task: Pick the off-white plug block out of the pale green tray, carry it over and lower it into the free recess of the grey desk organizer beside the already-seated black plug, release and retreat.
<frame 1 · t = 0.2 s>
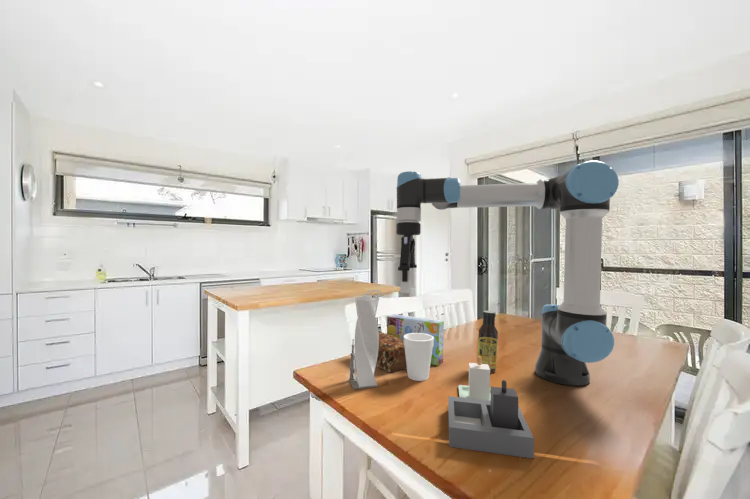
hand: (407, 290, 99), 28 cm above the table, fingers open, 13 cm apart
snack box: (414, 358, 117), on the table
foam cup: (418, 378, 99), on the table
grey desk organizer: (485, 432, 70), on the table
bread: (384, 363, 112), on the table
skyscraper: (365, 384, 94), on the table
sauce bottle: (486, 371, 106), on the table
plug: (478, 399, 84), resting on tray
tray: (478, 401, 84), on the table
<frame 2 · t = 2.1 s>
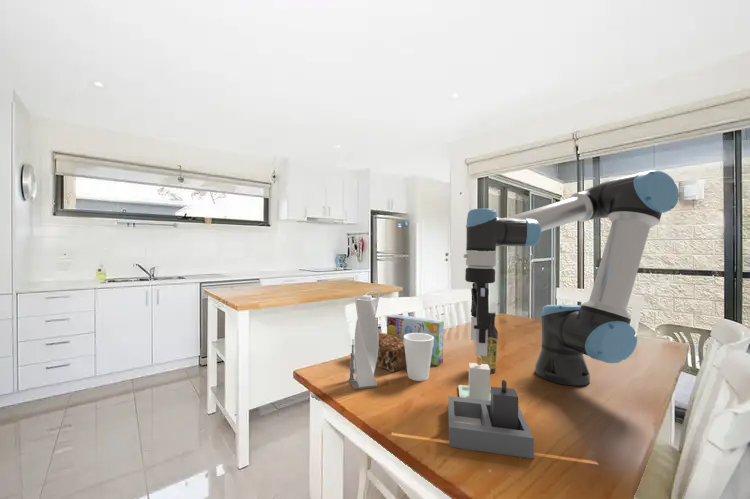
hand: (478, 347, 84), 15 cm above the table, fingers open, 13 cm apart
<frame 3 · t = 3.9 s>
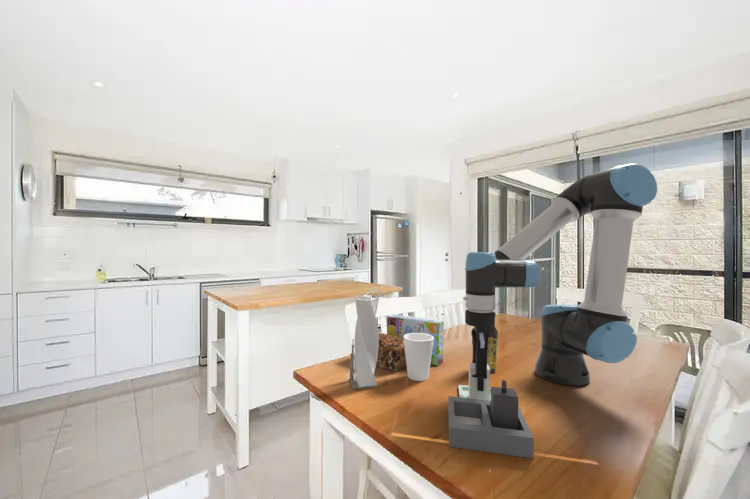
hand: (478, 397, 84), 1 cm above the table, fingers closed on plug, 4 cm apart
plug: (478, 399, 84), point 1 cm above the table, touching gripper, tray
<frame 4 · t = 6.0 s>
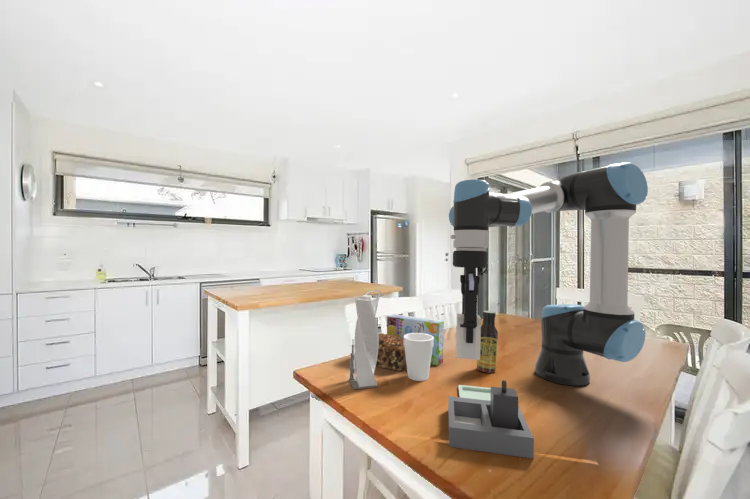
hand: (468, 353, 71), 17 cm above the table, fingers closed on plug, 4 cm apart
plug: (467, 355, 71), point 16 cm above the table, touching gripper
when the fingers open (2 cm above the table, at t = 8.4 s): plug stays where it is, resting on grey desk organizer.
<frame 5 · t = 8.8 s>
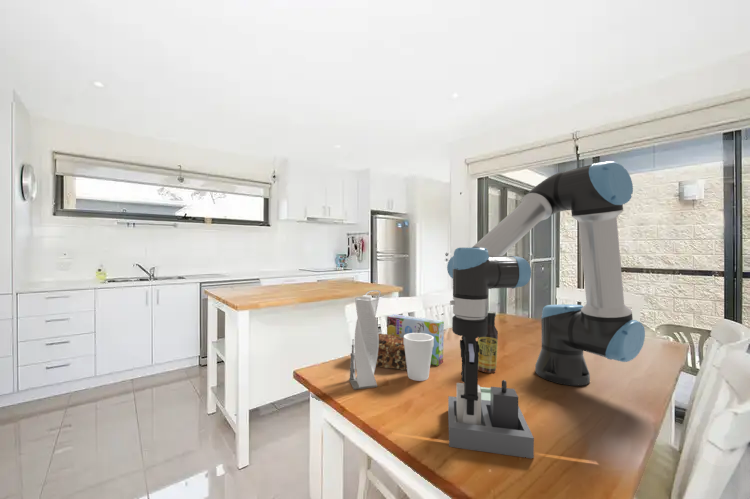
hand: (468, 419, 70), 2 cm above the table, fingers open, 6 cm apart
plug: (468, 427, 70), point 1 cm above the table, touching grey desk organizer
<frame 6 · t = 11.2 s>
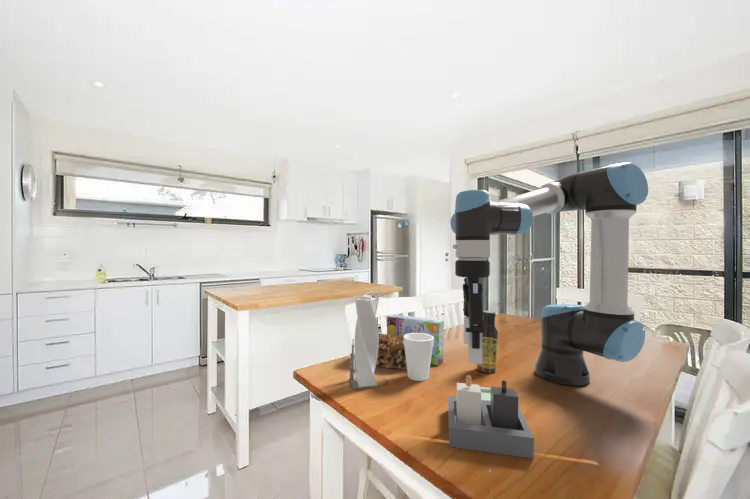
hand: (472, 352, 72), 17 cm above the table, fingers open, 13 cm apart
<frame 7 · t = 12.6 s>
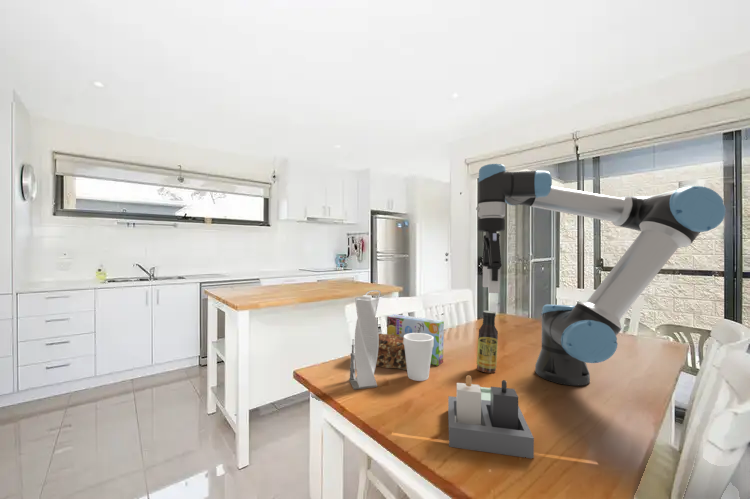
hand: (490, 289, 93), 29 cm above the table, fingers open, 13 cm apart
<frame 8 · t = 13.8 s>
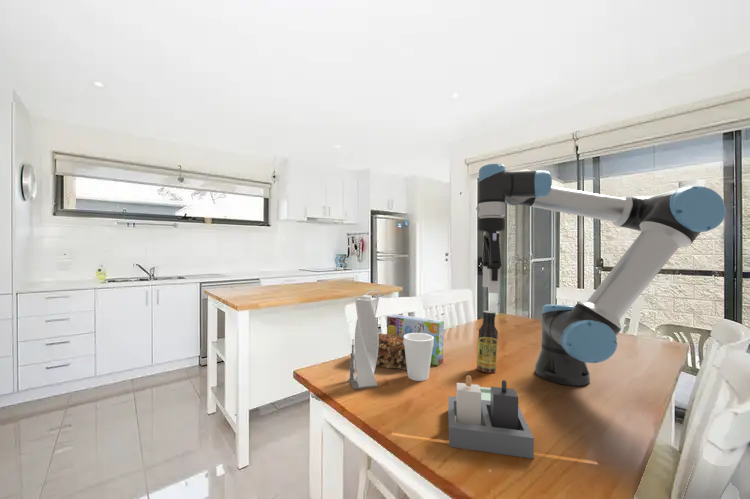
hand: (490, 289, 93), 29 cm above the table, fingers open, 13 cm apart
at the end: plug 0.1 cm from the target spot on the grey desk organizer, point 0.6 cm above the grey desk organizer's base; plug tilted 0°; the gripper is holding nothing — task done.
